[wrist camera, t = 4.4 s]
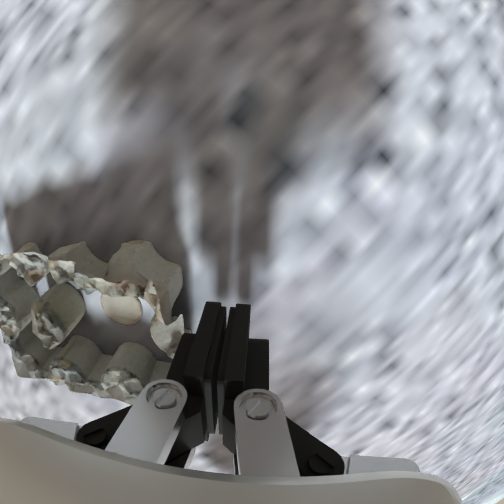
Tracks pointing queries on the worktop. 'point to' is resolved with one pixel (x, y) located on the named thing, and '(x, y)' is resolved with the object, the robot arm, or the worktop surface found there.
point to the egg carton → (73, 309)
